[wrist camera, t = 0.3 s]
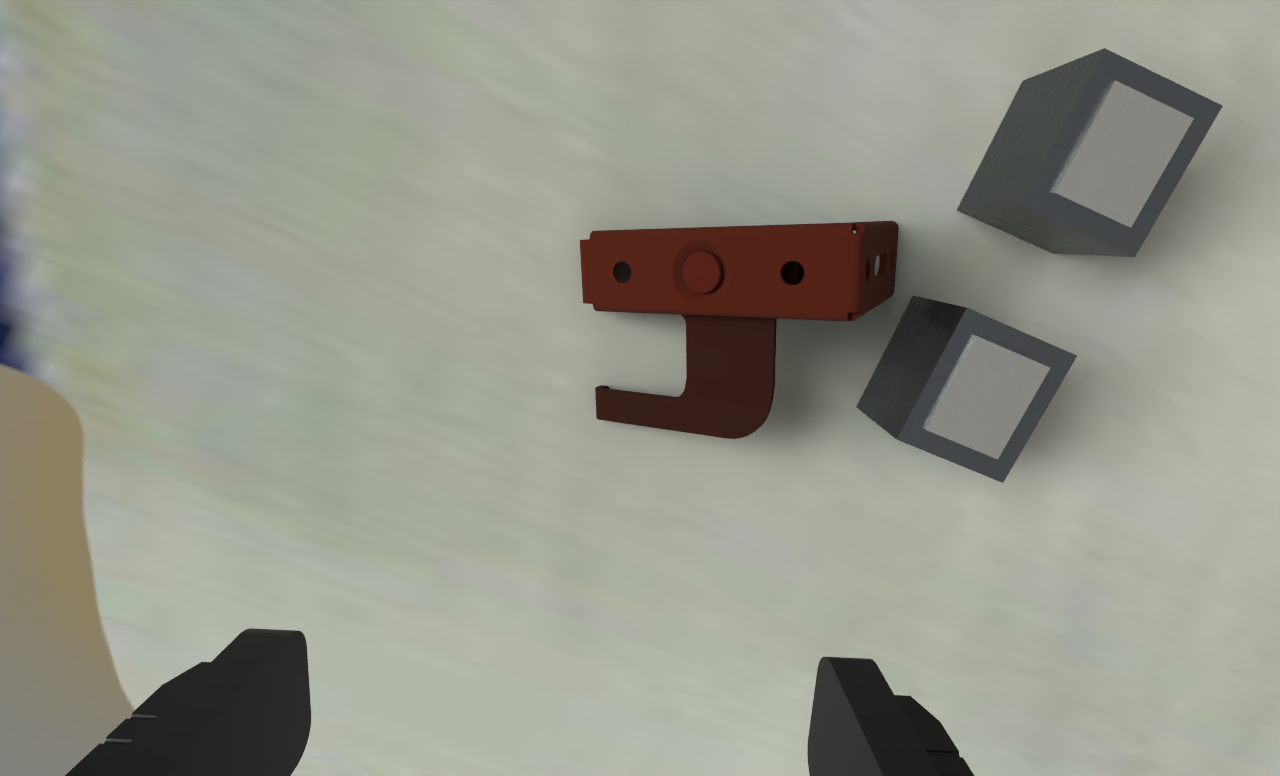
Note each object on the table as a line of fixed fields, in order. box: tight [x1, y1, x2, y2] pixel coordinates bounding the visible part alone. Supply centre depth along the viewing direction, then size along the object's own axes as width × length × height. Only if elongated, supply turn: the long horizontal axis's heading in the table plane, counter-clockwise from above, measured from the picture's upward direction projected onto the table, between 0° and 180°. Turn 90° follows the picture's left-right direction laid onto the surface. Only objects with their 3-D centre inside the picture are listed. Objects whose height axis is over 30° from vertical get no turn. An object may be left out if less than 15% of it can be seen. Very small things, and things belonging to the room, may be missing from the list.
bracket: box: [580, 221, 898, 439], centre depth 35 cm, size 10×14×10 cm
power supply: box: [857, 296, 1077, 483], centre depth 34 cm, size 7×6×6 cm
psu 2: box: [957, 48, 1222, 257], centre depth 31 cm, size 7×6×6 cm
